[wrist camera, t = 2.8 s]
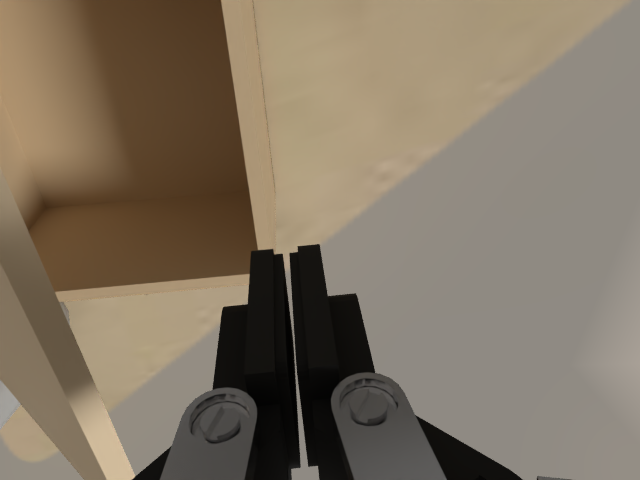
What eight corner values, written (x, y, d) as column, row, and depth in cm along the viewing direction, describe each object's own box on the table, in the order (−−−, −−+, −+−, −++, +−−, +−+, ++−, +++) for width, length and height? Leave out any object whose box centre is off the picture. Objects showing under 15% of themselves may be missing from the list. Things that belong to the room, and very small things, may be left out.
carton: (246, -52, 24) (234, -37, 16) (275, 192, 31) (275, 282, 23) (-56, -31, 23) (-213, -6, 16) (43, 212, 30) (-33, 310, 23)
